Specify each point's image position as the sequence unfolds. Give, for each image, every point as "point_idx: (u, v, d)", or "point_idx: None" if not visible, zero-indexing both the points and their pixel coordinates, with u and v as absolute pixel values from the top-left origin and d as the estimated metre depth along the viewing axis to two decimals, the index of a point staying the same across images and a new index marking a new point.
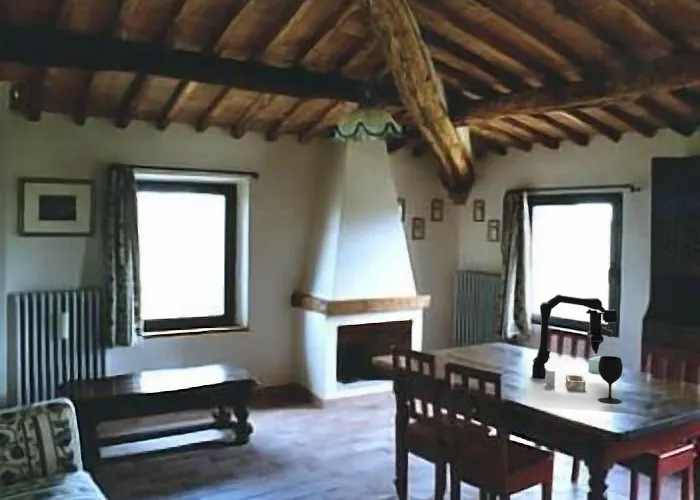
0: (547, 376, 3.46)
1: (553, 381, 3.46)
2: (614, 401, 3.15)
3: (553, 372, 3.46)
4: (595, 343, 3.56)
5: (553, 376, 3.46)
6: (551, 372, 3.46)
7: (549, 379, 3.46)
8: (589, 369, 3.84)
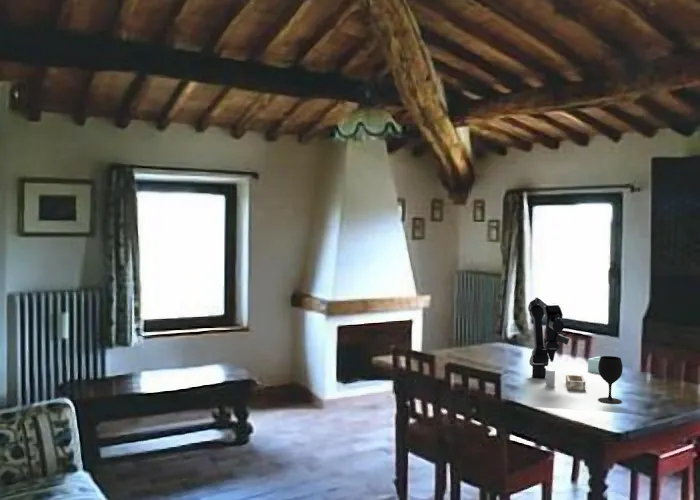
0: (547, 376, 3.46)
1: (553, 381, 3.46)
2: (614, 401, 3.15)
3: (553, 372, 3.46)
4: (551, 351, 3.42)
5: (553, 376, 3.46)
6: (551, 372, 3.46)
7: (549, 379, 3.46)
8: (588, 369, 3.84)
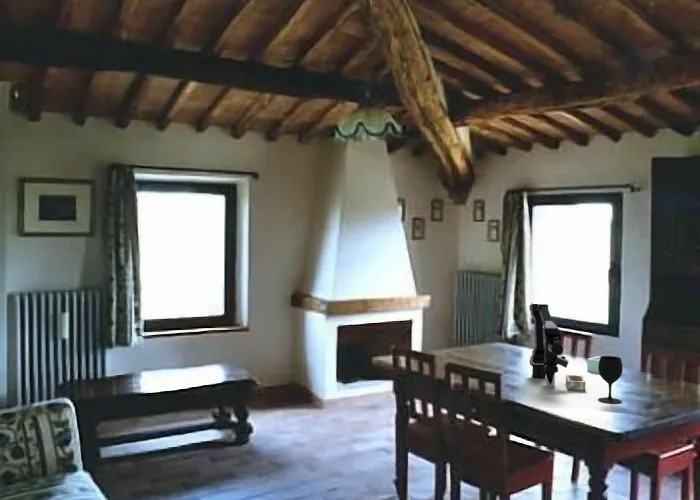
0: None
1: (553, 381, 3.46)
2: (614, 401, 3.15)
3: None
4: (549, 373, 3.45)
5: (553, 376, 3.46)
6: None
7: None
8: (588, 369, 3.84)
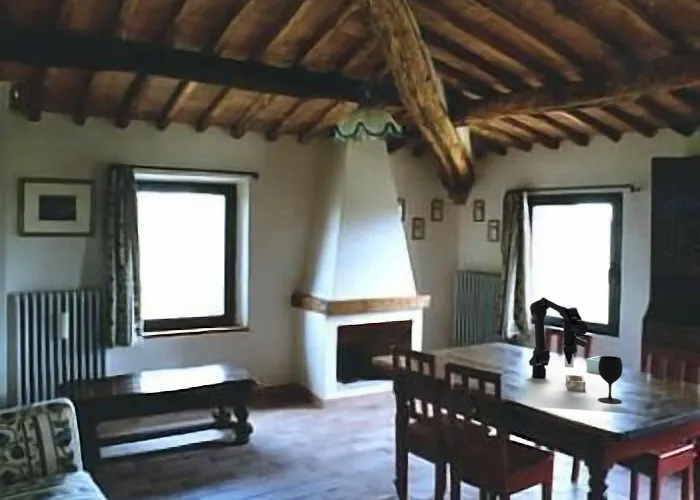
0: None
1: (572, 361, 3.43)
2: (614, 401, 3.15)
3: None
4: (568, 353, 3.42)
5: (572, 356, 3.43)
6: None
7: None
8: (587, 369, 3.84)
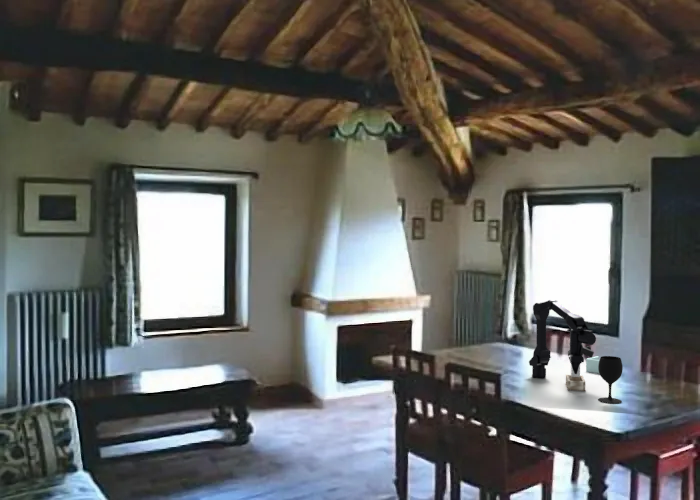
0: None
1: (578, 371, 3.43)
2: (614, 401, 3.15)
3: None
4: (575, 363, 3.42)
5: None
6: None
7: None
8: (587, 369, 3.84)
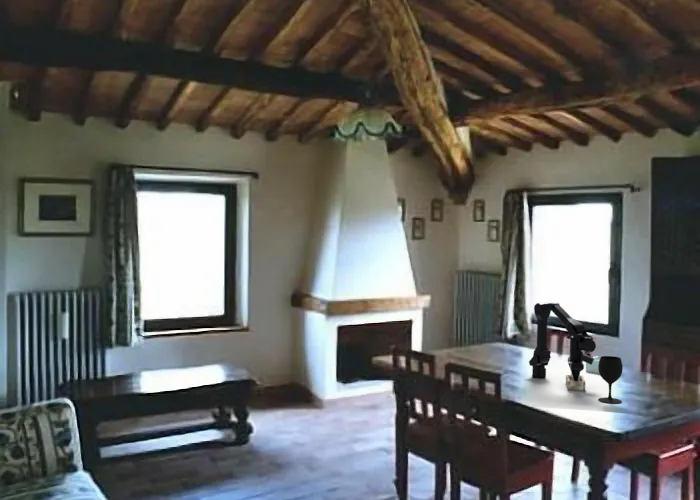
0: (572, 376, 3.44)
1: None
2: (614, 401, 3.15)
3: None
4: (575, 371, 3.40)
5: None
6: None
7: None
8: (586, 369, 3.84)
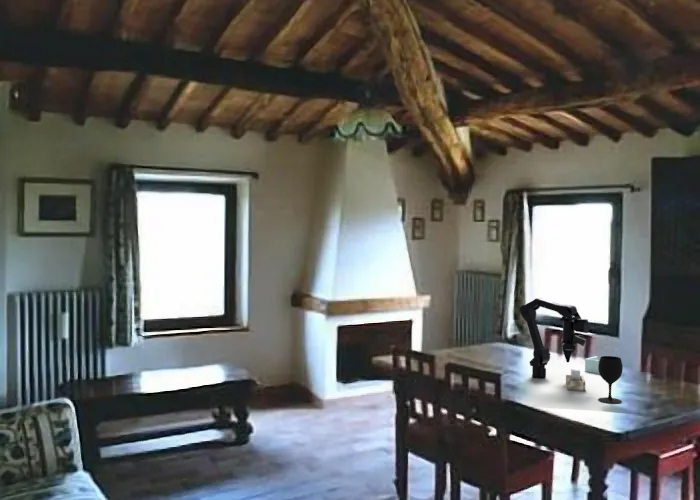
0: (572, 376, 3.44)
1: None
2: (614, 401, 3.15)
3: (578, 372, 3.43)
4: (567, 352, 3.50)
5: (578, 376, 3.43)
6: (576, 372, 3.43)
7: (574, 379, 3.44)
8: (586, 369, 3.84)
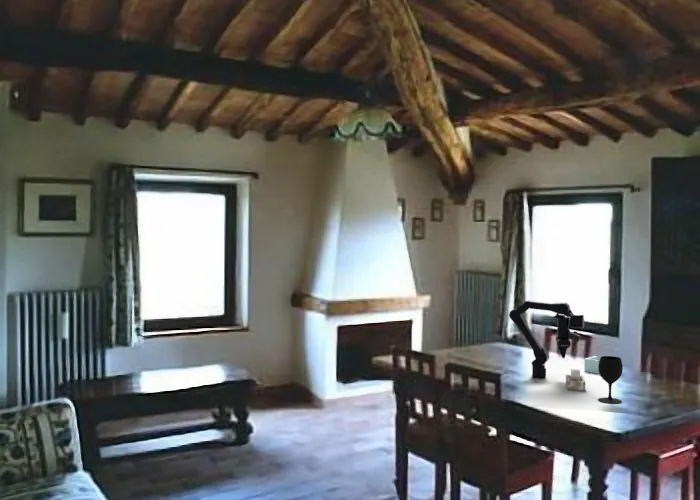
0: (572, 376, 3.44)
1: None
2: (614, 401, 3.15)
3: (578, 372, 3.43)
4: (562, 348, 3.57)
5: (578, 376, 3.43)
6: (576, 372, 3.43)
7: (574, 379, 3.44)
8: (585, 369, 3.84)
